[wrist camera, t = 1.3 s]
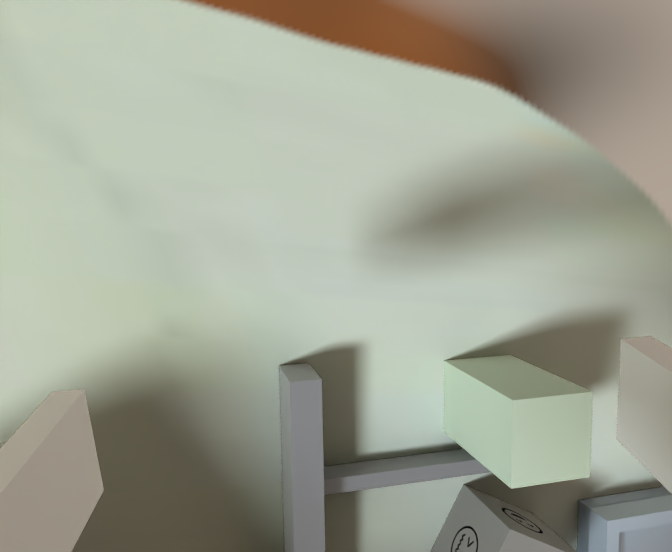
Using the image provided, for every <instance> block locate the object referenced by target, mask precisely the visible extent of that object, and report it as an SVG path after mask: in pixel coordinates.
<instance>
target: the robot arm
mask: <svg viewBox="0 0 672 552" xmlns="http://www.w3.org/2000/svg"><path fill="white" fill-rule="evenodd" d="M616 439H617V440H618V441H619V442H620V443H621V444H622V445H623V446H624V447H625V448H626V449H627V450H628V451H629V452H630V453H631V454H632V455H633V456H634V457H635V458H636V459H637V460H638V461H639V462H640V463H641V464H642V465H643V466H644V467H645V468H646V469H647V470H648V471H649V472H650V473H651V474H652V475H653V476H654V477H655V478H656V479H657V480H658V481H659V482H660V483H661V484H662V485H663V486H664V487H665V488H666V489H667V490H668V491H669V492H670V493H671V494H672V349H671V348H670V347H668V346H667V345H665V344H663V343H662V342H660V341H658V340H657V339H655V338H653V337H652V336H647V337H636V338H625V339H621V346H620V368H619V389H618V411H617V433H616ZM103 491H104V488H103V483H102V477H101V472H100V467H99V462H98V457H97V451H96V446H95V441H94V436H93V431H92V426H91V420H90V415H89V410H88V405H87V400H86V395H85V389H79V390H68V391H57V392H51V394H50V395H49V396H48V397H47V398H46V399H45V400H44V401H43V402H42V403H41V404H40V406H39V407H38V408H37V409H36V410H35V411H34V412H33V413H32V414H31V415H30V416H29V418H28V419H27V420H26V421H25V422H24V423H23V424H22V425H21V426H20V427H19V429H18V430H17V431H16V432H15V433H14V434H13V435H12V436H11V437H10V438H9V439H8V441H7V442H6V443H5V444H4V445H3V446H2V447H1V448H0V552H72V550H73V548H74V546H75V544H76V542H77V540H78V539H79V537H80V535H81V533H82V531H83V529H84V527H85V525H86V523H87V521H88V520H89V518H90V516H91V514H92V512H93V510H94V508H95V506H96V504H97V503H98V501H99V499H100V497H101V495H102V493H103Z"/></svg>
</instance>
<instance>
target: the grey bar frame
mask: <svg viewBox="0 0 672 552" xmlns="http://www.w3.org/2000/svg"><path fill="white" fill-rule="evenodd" d="M279 379H280V414H281V449H282V483H283V518H284V552H325V511H324V495H329V494H336V493H343V492H350V491H358V490H365V489H372V488H379V487H386V486H393V485H401V484H408V483H415V482H422V481H429V480H436V479H444V478H451V477H458V476H465V475H472V474H479V473H487V472H491V471H490V470H488V469H487V468H486V467H485V466H484V465H482V464H481V463H480V462H479V461H478V460H477V459H475V458H474V457H473V456H472V455H471V454H469V453H468V452H467V451H466V450H465V449H458V450H450V451H442V452H434V453H426V454H418V455H411V456H403V457H395V458H387V459H379V460H371V461H363V462H356V463H348V464H340V465H332V466H324V461H323V412H322V379H321V378H320V376H319V375H318V374H317V373H316V372H315V370H314V369H313V368H312V367H311V366H310V364H309V363H304V364H292V365H280V366H279Z"/></svg>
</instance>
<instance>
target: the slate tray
mask: <svg viewBox="0 0 672 552" xmlns="http://www.w3.org/2000/svg"><path fill="white" fill-rule="evenodd" d="M577 552H672V494H671V493H670V492H669V491H668V490H667V489H666V488H665V487H658V488H652V489H646V490H640V491H633V492H627V493H621V494H614V495H608V496H602V497H595V498H589V499H583V500H579V510H578V541H577Z"/></svg>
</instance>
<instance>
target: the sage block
mask: <svg viewBox="0 0 672 552" xmlns="http://www.w3.org/2000/svg"><path fill="white" fill-rule="evenodd" d="M592 405H593V392H592V391H590V390H588V389H586V388H584V387H581V386H579V385H577V384H575V383H572V382H570V381H568V380H566V379H563V378H561V377H559V376H557V375H554V374H552V373H550V372H548V371H545V370H543V369H541V368H539V367H536V366H534V365H532V364H530V363H527V362H525V361H523V360H521V359H518V358H516V357H514V356H512V355H502V356H491V357H479V358H468V359H456V360H445V361H444V432H445V433H446V434H447V435H448V436H449V437H451V438H452V439H453V440H454V441H455V442H456V443H458V444H459V445H460V446H461V447H462V448H464V449H465V450H466V451H467V452H468V453H469V454H471V455H472V456H473V457H474V458H475V459H477V460H478V461H479V462H480V463H481V464H482V465H484V466H485V467H486V468H487V469H488V470H490V471H491V472H492V473H493V474H494V475H495V476H497V477H498V478H499V479H500V480H501V481H503V482H504V483H505V484H506V485H507V486H508V487H510V488H511V489H513V488H520V487H527V486H533V485H540V484H547V483H554V482H560V481H567V480H574V479H580V478H587V477H590V463H591V434H592Z"/></svg>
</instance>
